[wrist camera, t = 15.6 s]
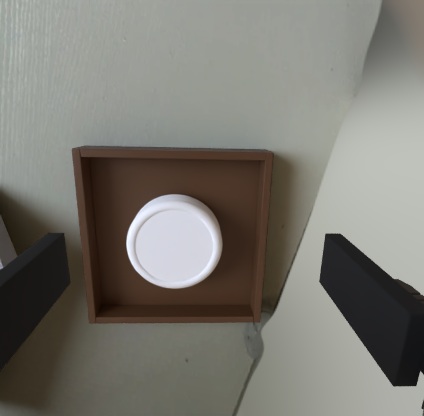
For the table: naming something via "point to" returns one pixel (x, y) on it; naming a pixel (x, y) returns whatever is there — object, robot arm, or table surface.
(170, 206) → the coaster
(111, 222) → the holder
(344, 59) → the table surface
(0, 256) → the shield
